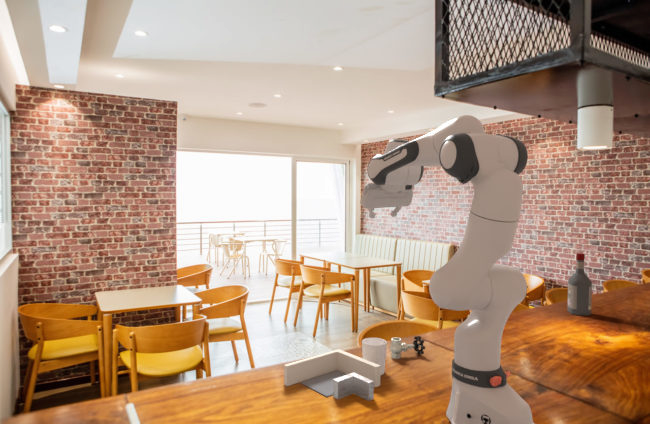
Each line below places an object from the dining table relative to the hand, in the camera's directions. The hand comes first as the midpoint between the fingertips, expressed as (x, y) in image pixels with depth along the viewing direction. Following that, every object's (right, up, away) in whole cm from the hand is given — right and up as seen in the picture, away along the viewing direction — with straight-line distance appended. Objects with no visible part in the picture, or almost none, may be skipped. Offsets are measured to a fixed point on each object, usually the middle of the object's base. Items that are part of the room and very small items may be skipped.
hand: (382, 216), depth 162 cm
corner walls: (-19, -50, -32) cm, 62 cm away
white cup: (-6, -50, -22) cm, 55 cm away
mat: (-19, -50, -31) cm, 62 cm away
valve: (+7, -50, -7) cm, 51 cm away
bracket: (-14, -50, -40) cm, 66 cm away
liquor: (+106, -49, +57) cm, 130 cm away
